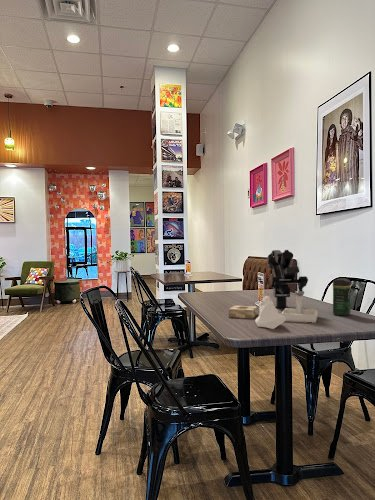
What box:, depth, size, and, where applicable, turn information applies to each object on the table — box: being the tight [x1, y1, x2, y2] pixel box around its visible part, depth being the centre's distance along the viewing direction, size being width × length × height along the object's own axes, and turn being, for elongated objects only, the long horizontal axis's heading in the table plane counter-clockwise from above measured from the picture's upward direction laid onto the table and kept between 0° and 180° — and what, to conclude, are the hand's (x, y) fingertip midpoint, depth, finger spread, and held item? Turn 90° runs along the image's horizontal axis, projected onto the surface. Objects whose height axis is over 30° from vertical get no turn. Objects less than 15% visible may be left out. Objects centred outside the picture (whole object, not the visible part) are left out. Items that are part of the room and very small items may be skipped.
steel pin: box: [294, 290, 305, 314], centre depth 179 cm, size 4×4×12 cm
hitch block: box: [228, 305, 258, 319], centre depth 190 cm, size 12×12×4 cm
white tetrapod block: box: [254, 295, 287, 330], centre depth 166 cm, size 12×15×14 cm
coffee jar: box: [332, 277, 351, 316], centre depth 189 cm, size 10×8×19 cm
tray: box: [280, 307, 319, 324], centre depth 179 cm, size 16×16×4 cm
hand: (292, 294), depth 189 cm, fingers open, 9 cm apart
